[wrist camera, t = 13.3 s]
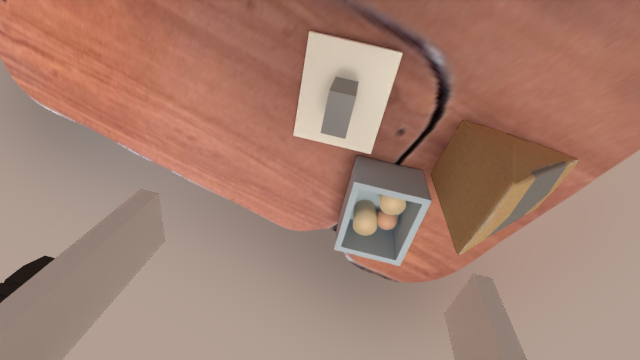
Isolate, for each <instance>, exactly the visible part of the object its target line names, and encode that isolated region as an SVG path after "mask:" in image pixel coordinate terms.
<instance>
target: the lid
mask: <svg viewBox="0 0 640 360" xmlns="http://www.w3.org/2000/svg"><path fill="white" fill-rule="evenodd" d="M402 54H403V52H402V51H398V50H393V49H389V48H385V47H380V46H376V45H372V44H367V43H363V42H358V41H354V40H350V39H345V38H341V37H337V36H332V35H328V34H324V33H319V32H315V31H309V36H308V43H307V49H306V56H305V62H304V69H303V76H302V82H301V89H300V95H299V102H298V109H297V115H296V122H295V128H294V135H293V136H297V137H301V138H305V139H309V140H314V141H318V142H322V143H326V144H330V145H334V146H339V147H343V148H347V149H351V150H355V151H359V152H364V153H368V154H371V152H372V149H373V145H374V142H375V139H376V136H377V133H378V130H379V127H380V123H381V120H382V117H383V114H384V111H385V108H386V105H387V101H388V98H389V95H390V92H391V89H392V86H393V83H394V79H395V76H396V73H397V70H398V67H399V64H400V61H401V57H402Z"/></svg>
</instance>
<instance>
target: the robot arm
mask: <svg viewBox="0 0 640 360" xmlns="http://www.w3.org/2000/svg"><path fill="white" fill-rule="evenodd" d="M164 242H165V238H164V230H163V223H162V215H161V208H160V201H159V194H158V193H155V192H151V191H147V190H143V189H140V190H139V191H138V192H136V193H135V194H134V195H133V196H132V197H130V198H129V199H128V200H127V201H125V202H124V203H123V204H122V205H121V206H119V207H118V208H117V209H116V210H114V211H113V212H112V213H111V214H109V215H108V216H107V217H106V218H105V219H103V220H102V221H101V222H100V223H98V224H97V225H96V226H95V227H93V228H92V229H91V230H90V231H88V232H87V233H86V234H85V235H83V236H82V237H81V238H80V239H79V240H77V241H76V242H75V243H74V244H72V245H71V246H70V247H69V248H67V249H66V250H65V251H64V252H63V253H61V254H60V255H59V256H58V257H56V258H52V257H48V256H43V257H41V258H39V259H37V260H35V261H33V262H31V263H29V264H26V265H24V266H23V267H21V268H20V269H19V270H17V271H16V272H15V273H13V274H12V275H11V276H10V277H9V278H7V279H6V280H5V282H4V283H0V360H63V358H64V357H65V356H66V354H68V353H69V351H70V350H71V349H72V348H73V347H74V346H75V344H76V343H77V342H78V341H79V340H80V339H81V338H82V336H83V335H84V334H85V333H86V331H88V329H89V328H90V327H91V326H92V325H93V324H94V323H95V321H96V320H97V319H98V318H99V317H100V316H101V314H102V313H103V312H104V311H105V310H106V309H107V308H108V306H109V305H110V304H111V303H112V302H113V301H114V299H115V298H116V297H117V296H118V294H120V292H121V291H122V290H123V289H124V288H125V287H126V286H127V284H128V283H129V282H130V281H131V280H132V279H133V277H134V276H135V275H136V274H137V273H138V272H139V270H140V269H141V268H142V267H143V266H144V265H145V263H146V262H147V261H148V260H149V259H150V258H151V257H152V256H153V254H154V253H155V252H156V251H157V250H158V249H159V247H160V246H161V245H162V244H163V243H164ZM445 319H446V323H447V327H448V332H449V336H450V340H451V345H452V350H453V354H454V358H455V360H527V359H526V357H525V354H524V352H523V350H522V347H521V345H520V343H519V340H518V338H517V336H516V333H515V331H514V329H513V326H512V324H511V321H510V319H509V317H508V315H507V312H506V310H505V308H504V305H503V303H502V300H501V298H500V296H499V294H498V291H497V289H496V286H495V284H494V282H493V279H492V278H489V277H485V276H481V275H477V274H472V276H471V277H470V279H469V280H468V282H467V283H466V285H465V286H464V287H463V288H462V290H461V291H460V293H459V294H458V295H457V297H456V298H455V300H454V301H453V302H452V304H451V305H450V307H449V308H448V309H447V311H446V312H445Z"/></svg>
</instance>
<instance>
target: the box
mask: <svg viewBox="0 0 640 360" xmlns="http://www.w3.org/2000/svg"><path fill="white" fill-rule="evenodd" d="M431 201H432V199H431V196H430V193H429V190H428V186H427V183H426V180H425V176H424V173H423V171H422V170H418V169H414V168H410V167H406V166H401V165H397V164H393V163H389V162H385V161H381V160H376V159H372V158H368V157H364V156H360V155H357V156H356V159H355V163H354V166H353V170H352V173H351V177H350V180H349V184H348V187H347V190H346V194H345V197H344V201H343V204H342V208H341V211H340V215H339V219H338V226H337V232H336V239H335V246H334V250H338V251H342V252H346V253H350V254H354V255H358V256H362V257H366V258H370V259H374V260H378V261H382V262H386V263H390V264H394V265H398V266H400V265H401V262H402V260H403V258H404V256H405V254H406V252H407V250H408V248H409V246H410V244H411V242H412V240H413V238H414V236H415V234H416V232H417V230H418V228H419V226H420V224H421V222H422V220H423V218H424V216H425V214H426V212H427V210H428V208H429V205H430V203H431Z"/></svg>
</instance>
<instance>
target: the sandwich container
mask: <svg viewBox="0 0 640 360" xmlns="http://www.w3.org/2000/svg"><path fill="white" fill-rule="evenodd" d="M518 138H519V137H517V138H516V136H514V137H513V135H511V136H510V134H508V135H507V133H504V132H502V131H498V130H495V129H491V128H488V127H485V126H481V125H478V124H474V123H471V122H467V121H464V120H462V122H461V123H460V125H459V127H458V129H457V130H456V132H455V134H454V135H453V137H452V139H451V140H450V142H449V144H448V145H447V147H446V149H445V151H444V152H443V154H442V156H441V157H440V159H439V161H438V162H437V164H436V166H435V168H434V169H433V171H432V173H431V177H432V180H433V183H434V186H435V189H436V192H437V195H438V198H439V201H440V204H441V208H442V211H443V214H444V217H445V220H446V223H447V226H448V229H449V232H450V235H451V238H452V241H453V244H454V247H455V250H456V253H457V254H458V255H461V254H463V253H464V252H466V251H468V250H469V249H471V248H472V247H474V246H475V245H477V244H479V243H480V242H482V241H483V240H485V239H486V238H488V237H489V236H491V235H492V234H494V233H495V232H497V231H499V230H501V229H503V228H504V227H506V226H508V225H509V224H511V223H512V222H514V221H516V220H517V219H519V218H521V217H522V216H524V215H526V214H528V213H530V212H531V211H533V210H535V209H537V208H538V207H539V205H540V204H541V203H542V202H543V201H544V200H545V199H546V198H547V197H548V196H549V195H550V194H551V193H552V192H553V191H554V190H555V189H556V188H557V187H558V185H559V184H560V183H561V182H562V181H563V179H564V178H565V177H566V176H567V175H568V174H569V172H570V171H571V170H572V169H573V168H574V166H575V165H576V164H577V163H578V161H579V159H576V158H574V157H571V156H568V155H566V154H563V153H560V152H558V151H555V150H552V149H549V148H547V147H544V146H541V145H539V144H536V143H533V142H531V141H527V140H525V141H524V139H523V140H521V139H522V138H520V139H518ZM526 141H527V142H526Z"/></svg>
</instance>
